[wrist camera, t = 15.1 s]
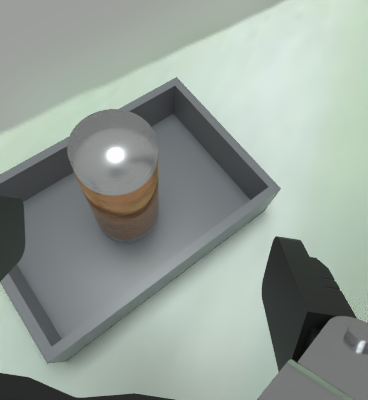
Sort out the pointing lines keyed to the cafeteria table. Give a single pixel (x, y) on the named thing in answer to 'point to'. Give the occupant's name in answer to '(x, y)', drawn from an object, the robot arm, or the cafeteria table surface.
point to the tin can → (117, 172)
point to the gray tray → (126, 252)
